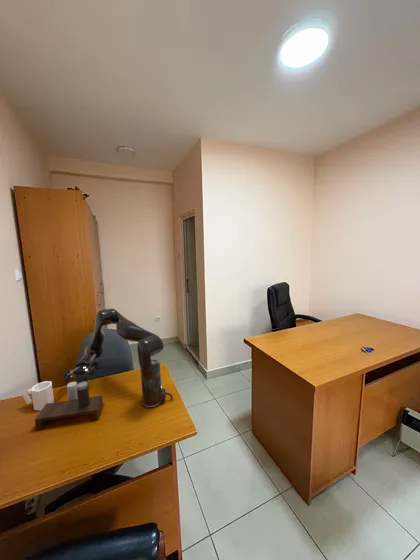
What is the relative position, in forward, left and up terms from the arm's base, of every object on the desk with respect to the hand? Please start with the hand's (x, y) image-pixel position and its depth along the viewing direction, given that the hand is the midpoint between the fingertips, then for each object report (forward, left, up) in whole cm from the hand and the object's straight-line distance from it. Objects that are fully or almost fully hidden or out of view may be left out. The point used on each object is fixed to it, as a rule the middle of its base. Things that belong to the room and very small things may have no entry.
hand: (75, 379), depth 115 cm
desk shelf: (-3, +15, -10) cm, 18 cm away
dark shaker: (-8, +15, -5) cm, 17 cm away
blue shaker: (0, +5, -10) cm, 11 cm away
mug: (+16, +3, -10) cm, 19 cm away
